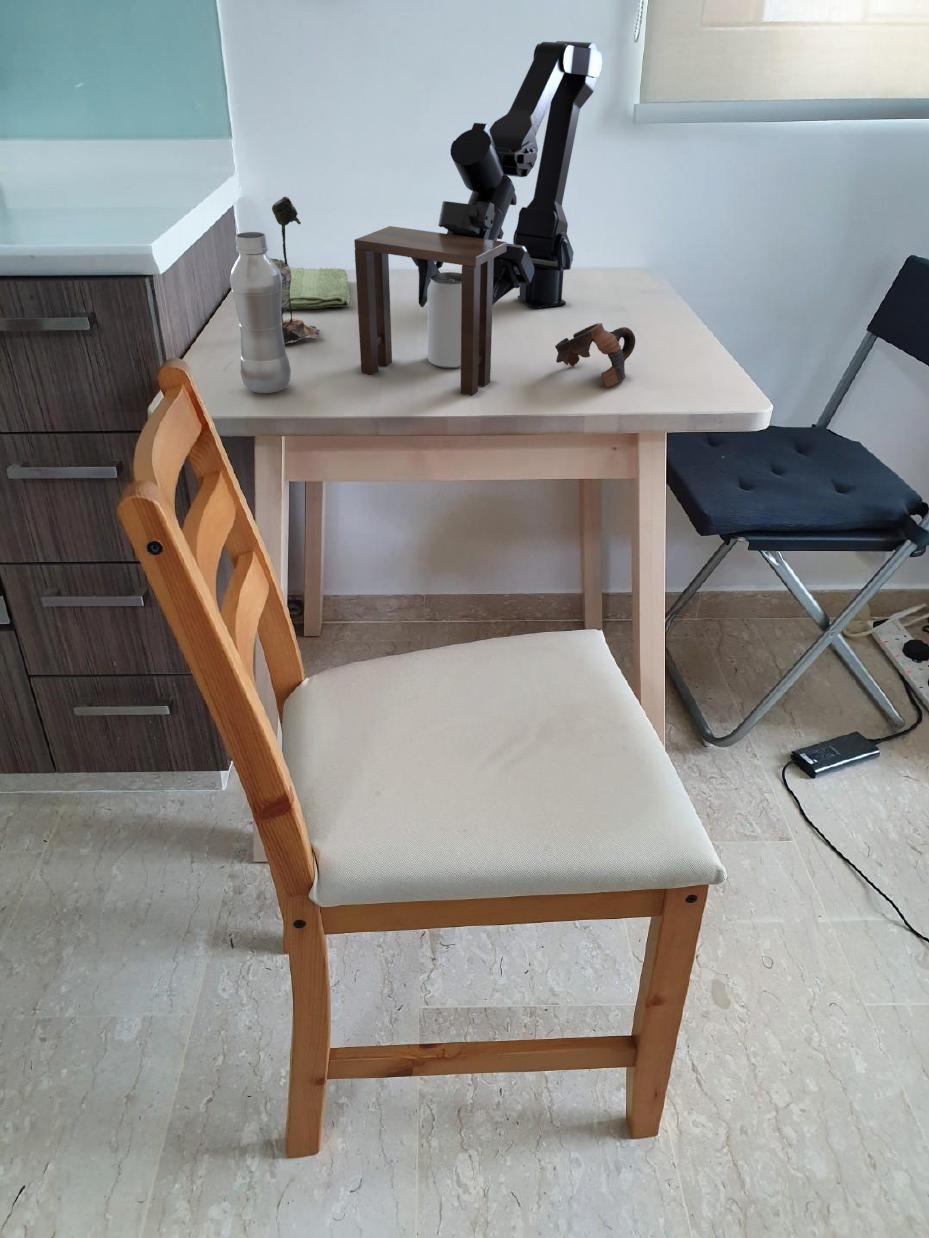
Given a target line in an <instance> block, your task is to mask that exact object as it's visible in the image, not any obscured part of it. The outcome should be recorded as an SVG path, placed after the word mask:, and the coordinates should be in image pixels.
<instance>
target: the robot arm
mask: <svg viewBox="0 0 929 1238" xmlns="http://www.w3.org/2000/svg"><path fill="white" fill-rule="evenodd" d="M532 59H533V60H532V62H531V64H530V66H529V68H528V70H527V72H526V74H525V77H524V79H523V81H522V83H521V85H520V87H519V90H518V91H517V93H516V96H515V98H514V100H513V102H512V104H511V106H510V109H509V110H508V112H507V113H506V114H505V115H503V116H501V117H500V118H498V119H497V120H495V121H494V122H493V123H492V125H491V126H490V127H489V125H488V123H483V122H473V124H472V126H471V129H468V130H465V131H464V132H461V134H459V135H458V136H457V137H456V139H455V140H453V141H452V143H451V146H450V150H449V151H450V156H451V159H452V161H453V163H454V166H455V168H456V170H457V172H458V174H459V176H460V177H461V180H462V182H463V184H464V186H465V187H466V189H468V190H469V191H471V194H470V197H469V198H468V201H467V203H463V202H457V201H456V202H455V201H449V200H447V201H446V200H444V201H442V204H441V208H440V213H439V219H438V225H437V226H438V227H440V228H444V229H445V230H447V232H446V234H451V235H459V236H466V237H473V238H480V239H488V240H495V241H498V240H502V239H503V236H504V234H505V233H504V231H503V228H502V227H503V224H504V221H505V219H506V216H507V214H508V211H509V208H510V206H516V205H517V202H518V201H517V200H518V198H517V194H516V188H515V186H514V185H515V184H514V183H513V181H512V179H511V178H510V177H515V178H526V177H528V176H529V174H530V172H531V171H532V170H533V168H534V167H535V165H536V161H537V159H538V151H539V147H538V143H537V142H538V141H537V134H538V131H539V128H540V127H541V124H542V122H543V119H544V118H545V115H546V113H547V111H548V109H549V111H548V116H547V122H546V128H545V132H544V139H543V144H542V150H541V154H540V161H539V166H538V171H537V177H536V183H535V188H534V194H533V198H532V200H531V201H530V202H529V203H528V204H527V206H522V207H521V208H520V210H519V212H518V220H517V224H516V228H515V230H514V233H513V239H512V243H509V242H507V249H506V252H504V253H502V254H500V255H498V256H496V257H494V267H493V302H492V306H494V305H495V304H496V303H497V302H499V300H500V299H502V298H503V297H504V296H505V295H507V294H508V293H510V292H511V291H512V290H514V289H519V295H517V299H518V301H520V302H522V303H523V304H525V305H526V306H528V307H530V308H531V309H540V308H541V309H543V308H551V307H557V306H558V307H559V306H565V305H567V301H566V300H564V299H563V288H564V287H563V286H564V271H569V270H571V269H572V264H573V261H574V250H573V247H572V245H571V241H570V239H569V236H568V234H567V233H568V229H569V228H568V227H569V224H568V220H567V217H566V215H565V211H564V209H563V200H564V195H565V190H566V186H567V179H568V175H569V170H570V164H571V158H572V154H573V149H574V144H575V138H576V133H577V128H578V122H579V116H580V111H581V109H582V108H583V106H584V105H585V104H586V103H587V101H588V100H589V99H590V97H591V96H592V95H593V94H594V92H595V88H596V84H597V80H598V78H599V76H600V74H601V72H602V67H603V53H602V52H601V51H599V50H598V48H597V45H596V43H594V42H589V41H588V42H587V41H568V40H567V41H565V40H557V41H542V42H540V43H537V44H536V46H535V48H534V50H533V58H532ZM411 260H412V261H413V263H414V264H415V266H416V267H417V268H418V305H419V307H421V308H423V307H425V306H426V304H427V290H428V286H429V284H430V281H431V279H430V277H431V276H432V275H434V274H437V273H441V271H440V270H439V269H441V268H442V267H443V265H444V263H445V262H438V261H431V260H425V259H418V258H411Z"/></svg>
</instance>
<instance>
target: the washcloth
mask: <svg viewBox="0 0 929 1238" xmlns="http://www.w3.org/2000/svg"><path fill="white" fill-rule="evenodd" d="M289 268H290V270H291V275H292V279H291V284H290V292H289V293H290V301H291V310H308V309H314V310H315V309H326V308H328V307H330V308H339V307H340V308H348V307H349V306H350V305H351V296H350V286H349V280H348V279H349V275H348V273H347V271H346V269H345V268H333V267H330V268H323V267H319V268H304V267H290V266H289ZM287 310H288V311H290V309H289V308H288V309H287Z"/></svg>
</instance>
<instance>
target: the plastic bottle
mask: <svg viewBox="0 0 929 1238" xmlns="http://www.w3.org/2000/svg"><path fill="white" fill-rule="evenodd" d="M234 238H235V244H236V246H235V250H236V252H237V253H238V255H239V256H238V257H237V259H236V260H235V263H234V264H233V267H232V268H231V272H230V277H229V283H230V288H231V292H232V296H233V300H234V304H235V308H236V311H237V318H238V322H239V330H240V350H241V356H240V370H239V371H240V377H241V380H242V383H243V385H244V386H245V387H246V389H248V390H249V391H250V392H254V393H260V394H270V393H271V394H272V393H277V392H281V391H283V390H285V389H286V388H287V387H288V385H289V383H290V382H291V376H292V375H291V373H292V368H291V363H290V360H289V356H288V354H287V349H286V343H284V338H283V332H282V322H281V320H282V315H281V302H282V276H281V273H280V271H279V269H278V268H277V266H276V265H275V264H274V262H273V261H272V260H271V259H272V258H271V257H269V255H268V254H267V252H268V251H269V245H268V243H267V236H266V233H264V232H261V231H246V232H245V231H244V232H239V233H237V234H235V237H234ZM270 258H271V259H270Z"/></svg>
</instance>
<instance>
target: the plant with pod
mask: <svg viewBox="0 0 929 1238" xmlns="http://www.w3.org/2000/svg"><path fill="white" fill-rule="evenodd" d="M271 206H272V207H271V210H272V213H273V215H274V217H275V220H276V222H277V224H278V225H279V226H281V236H282V254H283V258H284V260H282V259H279V258H271V257H269V258H270V259H271V260H272V261H273V262H274V264H275V265H276V266H277V268H278V269H279V271H280V273H281V276H282V302H281V315H282V320H281V322H282V332H283V338H284V343H285V344H289V343H295V342H298V341H300V340H301V339H302V340H303V339H304V340H305V339H307V338H313V339H318V338H319V337H320V333H319V332H320V329H318V328H317V327H316V326H315V325H310V326H309V325H306V324H305V323H304V321H303V319H300V318H293V309H291V301H290V293H289V292H290V284H291V279H292V275H291V270H290V268H289V267H290V266H289V263H288V259H287V248H286V226H287V225H289V224H290V223H293V222H296V223H297V224H298V225H301V224H302V222H301V221H300V219H299V218H298V214H299V213H298V211H297V209H296V207H295V206H294V204H293V203H292V201H291V199H290V198H289V197H287V196H283V197H282V198H281V199H278V200H277V201H275V202H274V203H273V205H271ZM288 308H289V309H290V310H289V309H288ZM288 310H289V313H290V319H286V320H284V317H283V316H284V313H285V312H286V311H288Z"/></svg>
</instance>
